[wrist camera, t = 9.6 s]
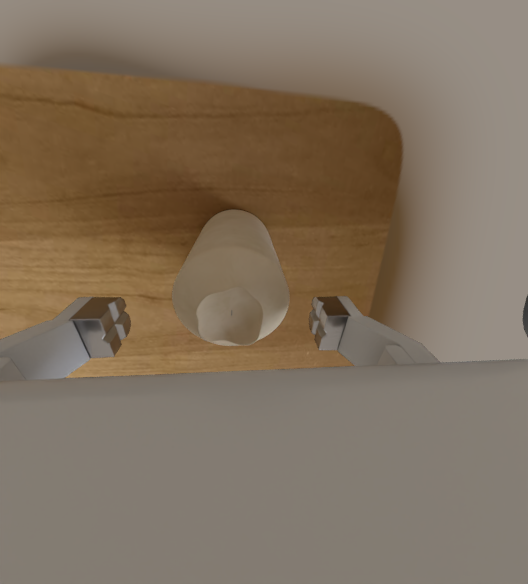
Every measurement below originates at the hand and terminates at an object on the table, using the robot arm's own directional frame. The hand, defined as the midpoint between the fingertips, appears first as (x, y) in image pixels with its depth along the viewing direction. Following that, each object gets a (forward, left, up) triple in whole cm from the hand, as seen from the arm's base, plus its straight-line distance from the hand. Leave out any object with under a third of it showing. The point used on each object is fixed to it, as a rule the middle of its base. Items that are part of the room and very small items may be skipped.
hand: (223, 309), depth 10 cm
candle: (0, 0, -9) cm, 9 cm away
